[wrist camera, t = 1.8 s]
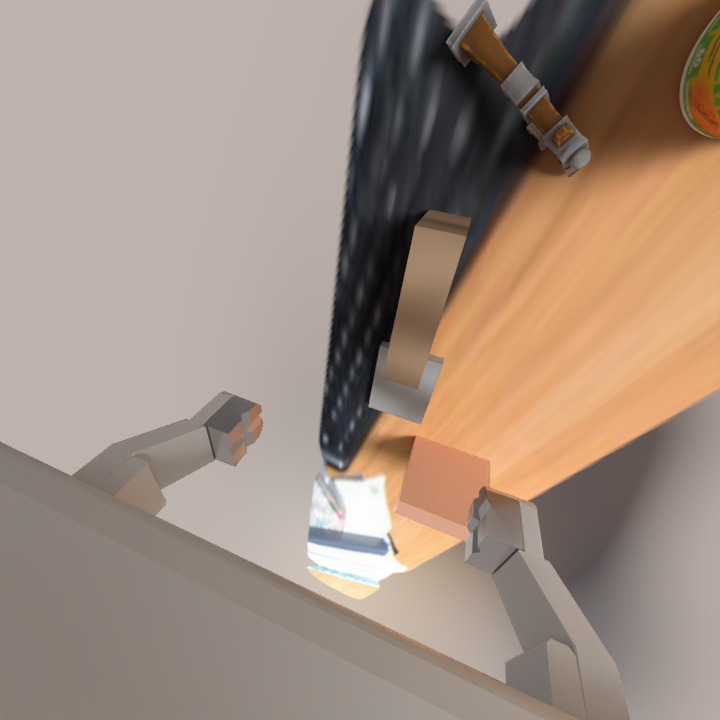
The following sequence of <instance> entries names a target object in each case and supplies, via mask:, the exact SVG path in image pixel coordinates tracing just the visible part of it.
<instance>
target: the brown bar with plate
mask: <svg viewBox="0 0 720 720" xmlns="http://www.w3.org/2000/svg"><path fill="white" fill-rule="evenodd" d="M470 221H471V218H469V217H464V216H459V215H453V214H448V213H443V212H438V211H433V210H429V211H428V212H427V213H426V214H425V215H424V216H423V217H422V219H421V220H420V221H419V222H418V223H417V224H416V225H415V229H414V233H413V238H412V243H411V247H410V252H409V257H408V261H407V266H406V271H405V275H404V280H403V285H402V289H401V294H400V298H399V303H398V308H397V312H396V317H395V322H394V326H393V331H392V336H391V340H390V343H389V342H386V341H382V343H381V345H380V349H379V354H378V359H377V365H376V370H375V375H374V380H373V385H372V391H371V396H370V401H369V406H368V407H371V408H374V409H377V410H380V411H383V412H386V413H389V414H392V415H394V416H397V417H400V418H403V419H406V420H409V421H412V422H415V423H418V424H421V423H422V420H423V417H424V414H425V412H426V409H427V406H428V403H429V401H430V398H431V395H432V392H433V390H434V387H435V384H436V381H437V379H438V376H439V373H440V370H441V368H442V365H443V361H444V358H441V357H437V356H434V355H430V354H429V353H430V349H431V346H432V343H433V340H434V337H435V334H436V331H437V327H438V324H439V321H440V318H441V315H442V312H443V309H444V306H445V302H446V299H447V296H448V293H449V290H450V287H451V284H452V281H453V277H454V274H455V271H456V268H457V265H458V262H459V259H460V255H461V252H462V249H463V246H464V243H465V240H466V237H467V233H468V229H469V225H470Z"/></svg>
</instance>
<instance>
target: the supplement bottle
mask: <svg viewBox="0 0 720 720" xmlns="http://www.w3.org/2000/svg"><path fill="white" fill-rule="evenodd" d="M679 98H680V107H681V111H682V114H683V116H684V118H685V120H686V121H687V123H688V124H689V125H690V126H691V127H692V128H693V129H694V130H695V131H697V132H699V133H700V134H702V135H705V136H707V137H711V138H716V139H720V10H719V11H718V13H717V14H716V15H715V16H714V18H713V19H712V20H711V21H710V23H709V24H708V25H707V27H706V28H705V30H704V31H703V33H702V34H701V36H700V37H699V39H698V41H697V42H696V44H695V46H694V48H693V49H692V51H691V53H690V56H689V58H688V60H687V63H686V65H685V68H684V71H683V75H682V79H681V83H680V93H679Z"/></svg>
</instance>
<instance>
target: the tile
mask: <svg viewBox="0 0 720 720" xmlns="http://www.w3.org/2000/svg"><path fill="white" fill-rule="evenodd" d="M483 486H486V487H489V488H490V461H488V460H485V459H482V458H479V457H476V456H473V455H471V454H468V453H465V452H462V451H459V450H456V449H453V448H450V447H447V446H445V445H442V444H439V443H436V442H433V441H430V440H427V439H424V438H422V437H419V436H416V437H415V440H414V443H413V446H412V449H411V452H410V456H409V460H408V464H407V468H406V472H405V476H404V479H403V483H402V487H401V491H400V495H399V499H398V503H397V506H396V510H395V513H397V514H399V515H402V516H404V517H406V518H409V519H411V520H414V521H416V522H419V523H421V524H424V525H426V526H429V527H431V528H434V529H436V530H439V531H441V532H444V533H446V534H449V535H451V536H454V537H456V538H458V539H461V540H463V541H466V540H467V538H468V537H469V536H470V532H469V530H468V528H467V517H468V512H469V508H470V505H471V503H472V502H473V500H474V499H475V498H479V491H480V489H481V488H482V487H483Z"/></svg>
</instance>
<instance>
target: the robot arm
mask: <svg viewBox="0 0 720 720" xmlns="http://www.w3.org/2000/svg"><path fill="white" fill-rule="evenodd" d="M261 412H262V410H261V405H259V404H256V403H254V402H251V401H249V400H246V399H243V398H241V397H238V396H236V395H233V394H231V393H228V392H221V393H219V394H218V395H217V396H216V397H215V398H214V399H212V400H211V401H210V402H209V403H208V404H207V405H206V406H205V407H203V408H202V409H201V410H200V411H199V412H198V413H197V414H196V415H195V416H193V418H191V419H190V420H189V419H184V420H181V421H178V422H176V423H172V424H170V425H166V426H164V427H161V428H158V429H155V430H152V431H149V432H146V433H143V434H140V435H137V436H135V437H132V438H129V439H126V440H123V441H120V442H117V443H114V444H112V445H111V446H109V447H108V448H107V449H105V450H104V451H103V452H101V453H100V454H99V455H98V456H97V457H95V458H94V459H92V460H91V461H90V462H89V463H87V464H86V465H85V466H83V467H82V468H81V469H80V470H79V471H77V472H76V473H75V474H73V475H72V476H71V475H68V474H66V473H64V472H62V471H60V470H58V469H56V468H54V467H52V466H50V465H48V464H45V463H43V462H41V461H39V460H37V459H35V458H33V457H31V456H29V455H27V454H24V453H22V452H20V451H18V450H16V449H14V448H12V447H10V446H8V445H6V444H4V443H2V442H0V720H630V717H629V713H628V709H627V706H626V702H625V697H624V693H623V689H622V685H621V682H620V677H619V674H618V670H617V666H616V664H615V663H614V661H613V660H612V658H611V657H610V655H609V654H608V652H607V650H606V649H605V647H604V646H603V644H602V643H601V641H600V639H599V638H598V636H597V635H596V633H595V632H594V630H593V629H592V627H591V626H590V624H589V622H588V621H587V619H586V618H585V616H584V615H583V613H582V612H581V610H580V609H579V607H578V605H577V604H576V603H575V601H574V599H573V598H572V596H571V595H570V593H569V592H568V590H567V589H566V587H565V585H564V584H563V582H562V581H561V579H560V577H559V576H558V574H557V573H556V571H555V570H554V568H553V567H552V565H551V564H550V562H549V561H546V560H544V556H543V549H542V543H541V536H540V529H539V523H538V516H537V508H536V506H535V504H533V503H531V502H528V501H525V500H522V499H520V498H516V497H515V496H512V495H510V494H507V493H504V492H501V491H498V490H495V489H492V488H489V487H486V486H483V487H482V488H481V489H480V491H479V498H475V499H474V500H473V502H472V503H471V505H470V508H469V512H468V517H467V528H468V530H469V532H470V536H469V537H468V538H467V540H466V551H465V562H466V563H468V564H470V565H472V566H475V567H477V568H479V569H481V570H484V571H486V572H488V573H491V574H493V575H492V577H493V579H494V582H495V584H496V586H497V589H498V591H499V594H500V596H501V598H502V601H503V603H504V606H505V608H506V611H507V613H508V615H509V617H510V620H511V623H512V625H513V627H514V630H515V632H516V635H517V637H518V639H519V642H520V644H521V646H522V649H523V651H524V652H523V653H521V654H520V655H518V656H516V657H514V658H512V659H510V660H508V661H507V662H506V663H505V664H506V665H505V668H506V684H505V683H503V682H501V681H498V680H496V679H494V678H492V677H490V676H488V675H486V674H484V673H482V672H480V671H478V670H475V669H474V668H471V667H469V666H467V665H465V664H463V663H461V662H459V661H457V660H455V659H453V658H450V657H448V656H446V655H444V654H442V653H440V652H438V651H436V650H434V649H431V648H430V647H427V646H425V645H423V644H421V643H419V642H417V641H415V640H413V639H411V638H409V637H407V636H405V635H403V634H400V633H398V632H396V631H394V630H392V629H390V628H388V627H386V626H384V625H382V624H379V623H377V622H375V621H373V620H371V619H369V618H367V617H365V616H363V615H361V614H359V613H356V612H354V611H352V610H350V609H348V608H346V607H344V606H342V605H340V604H338V603H336V602H334V601H331V600H329V599H327V598H325V597H323V596H321V595H319V594H317V593H315V592H313V591H311V590H308V589H307V588H304V587H302V586H300V585H298V584H296V583H294V582H292V581H290V580H288V579H286V578H284V577H281V576H279V575H277V574H275V573H273V572H271V571H269V570H267V569H265V568H263V567H261V566H258V565H256V564H254V563H252V562H250V561H248V560H246V559H244V558H242V557H240V556H238V555H236V554H233V553H231V552H229V551H227V550H225V549H223V548H221V547H219V546H217V545H215V544H212V543H210V542H208V541H206V540H204V539H202V538H200V537H198V536H196V535H194V534H192V533H190V532H188V531H185V530H183V529H181V528H179V527H177V526H175V525H173V524H171V523H169V522H167V521H164V520H162V519H160V518H158V517H156V515H157V514H158V512H159V511H160V510H161V509H162V508H163V507H164V506H165V505H166V500H165V498H164V496H163V494H162V492H161V489H163V488H164V487H166V486H168V485H170V484H172V483H174V482H176V481H177V480H179V479H181V478H183V477H185V476H187V475H188V474H190V473H192V472H194V471H196V470H198V469H200V468H201V467H203V466H205V465H207V464H209V463H211V462H213V461H214V460H215V459H216V460H219V461H221V462H224V463H227V464H229V465H232V466H236V465H237V464H238V462H239V461H240V460H241V459H242V457H243V456H244V455H245V454H246V450H247V448H246V447H247V446H249V445H251V444H253V443H254V442H255V441H256V440H257V439H258V437H259V435H260V433H261V431H262V426H263V420H262V418H261V417H260V416H259V414H260V413H261Z"/></svg>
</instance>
